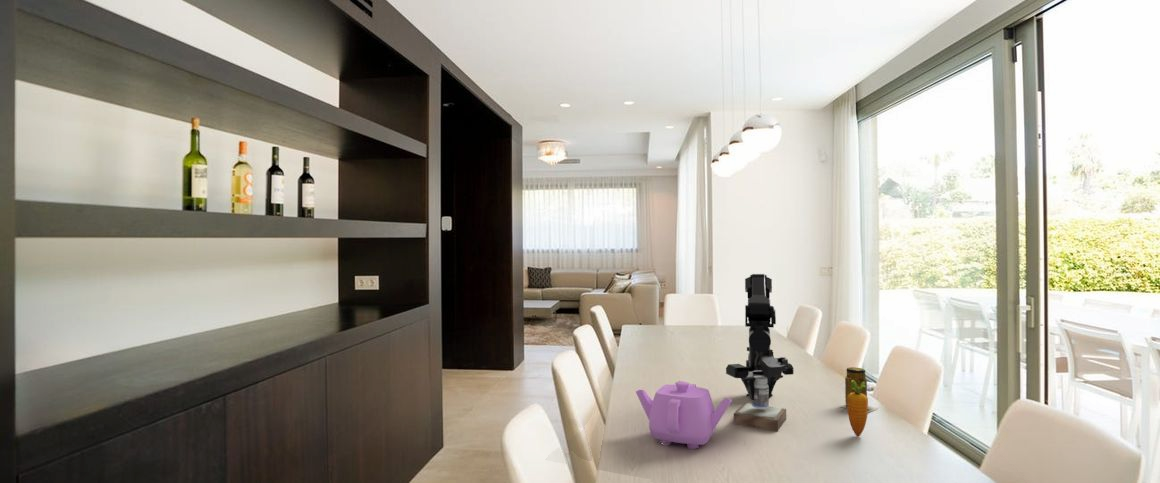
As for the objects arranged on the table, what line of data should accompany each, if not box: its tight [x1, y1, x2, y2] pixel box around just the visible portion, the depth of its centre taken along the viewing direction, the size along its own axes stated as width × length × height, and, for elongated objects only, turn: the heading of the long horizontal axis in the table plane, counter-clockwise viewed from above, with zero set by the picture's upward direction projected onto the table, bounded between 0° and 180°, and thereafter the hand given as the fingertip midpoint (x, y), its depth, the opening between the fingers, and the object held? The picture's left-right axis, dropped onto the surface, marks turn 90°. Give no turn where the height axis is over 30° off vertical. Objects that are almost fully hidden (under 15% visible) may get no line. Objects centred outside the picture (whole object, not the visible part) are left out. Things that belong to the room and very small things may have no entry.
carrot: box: [846, 380, 869, 437], centre depth 141 cm, size 5×5×15 cm
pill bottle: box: [751, 376, 770, 409], centre depth 154 cm, size 5×5×8 cm
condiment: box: [840, 366, 879, 413], centre depth 166 cm, size 7×8×12 cm
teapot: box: [635, 380, 732, 450], centre depth 140 cm, size 19×18×15 cm
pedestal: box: [733, 402, 787, 432], centre depth 154 cm, size 12×12×3 cm
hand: (760, 399), depth 154 cm, fingers closed on pill bottle, 5 cm apart
